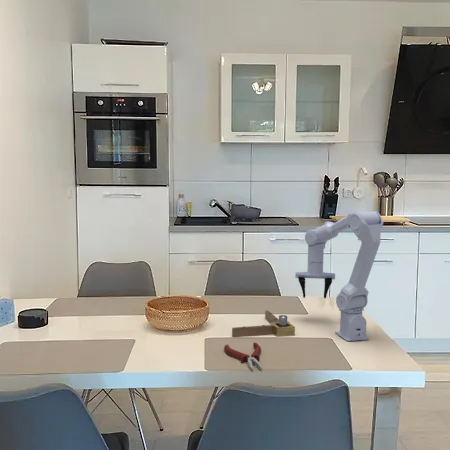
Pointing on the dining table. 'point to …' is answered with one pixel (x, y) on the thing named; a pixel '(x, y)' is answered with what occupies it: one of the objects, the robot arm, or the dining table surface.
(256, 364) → the pliers
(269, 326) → the hinge
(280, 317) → the hinge pin
